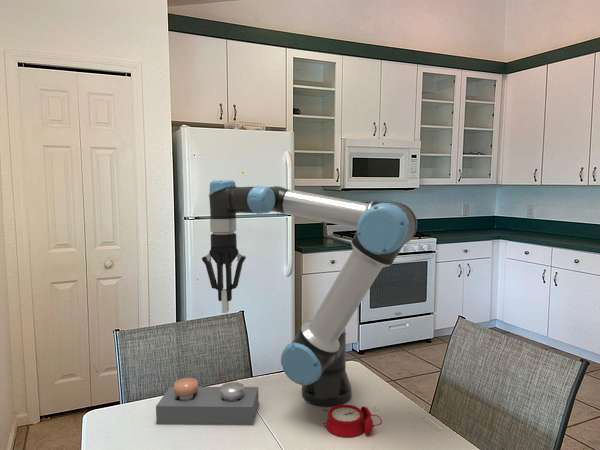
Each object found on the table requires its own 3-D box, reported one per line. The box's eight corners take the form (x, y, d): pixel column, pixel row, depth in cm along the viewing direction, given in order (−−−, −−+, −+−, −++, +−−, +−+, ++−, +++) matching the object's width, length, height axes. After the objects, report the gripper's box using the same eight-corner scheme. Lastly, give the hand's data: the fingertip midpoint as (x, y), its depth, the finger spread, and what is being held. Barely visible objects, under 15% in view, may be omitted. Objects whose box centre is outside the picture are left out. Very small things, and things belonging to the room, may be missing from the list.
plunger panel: (258, 403, 131) (258, 387, 131) (252, 425, 119) (252, 406, 119) (171, 402, 132) (170, 386, 132) (156, 424, 120) (155, 406, 120)
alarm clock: (320, 404, 123) (374, 392, 123) (326, 426, 124) (379, 414, 123) (322, 424, 113) (380, 411, 112) (327, 447, 113) (385, 435, 113)
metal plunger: (245, 407, 129) (245, 382, 128) (242, 418, 122) (241, 392, 122) (223, 406, 129) (223, 382, 128) (218, 418, 123) (218, 392, 122)
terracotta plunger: (200, 402, 129) (200, 377, 128) (194, 413, 123) (194, 387, 122) (179, 402, 129) (178, 377, 129) (171, 413, 123) (170, 387, 122)
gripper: (247, 231, 135) (249, 308, 137) (204, 231, 136) (206, 308, 138) (243, 234, 128) (245, 315, 130) (198, 234, 128) (200, 315, 130)
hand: (225, 311), depth 134 cm, fingers closed
